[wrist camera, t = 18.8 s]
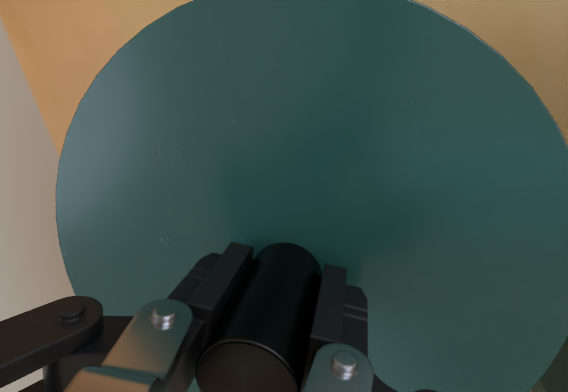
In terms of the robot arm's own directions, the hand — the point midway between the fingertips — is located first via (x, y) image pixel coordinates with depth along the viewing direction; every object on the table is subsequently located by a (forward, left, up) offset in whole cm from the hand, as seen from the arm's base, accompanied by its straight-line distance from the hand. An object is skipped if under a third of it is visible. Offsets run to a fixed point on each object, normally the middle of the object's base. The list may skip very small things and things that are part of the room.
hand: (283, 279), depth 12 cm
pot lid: (0, 0, -1) cm, 1 cm away
